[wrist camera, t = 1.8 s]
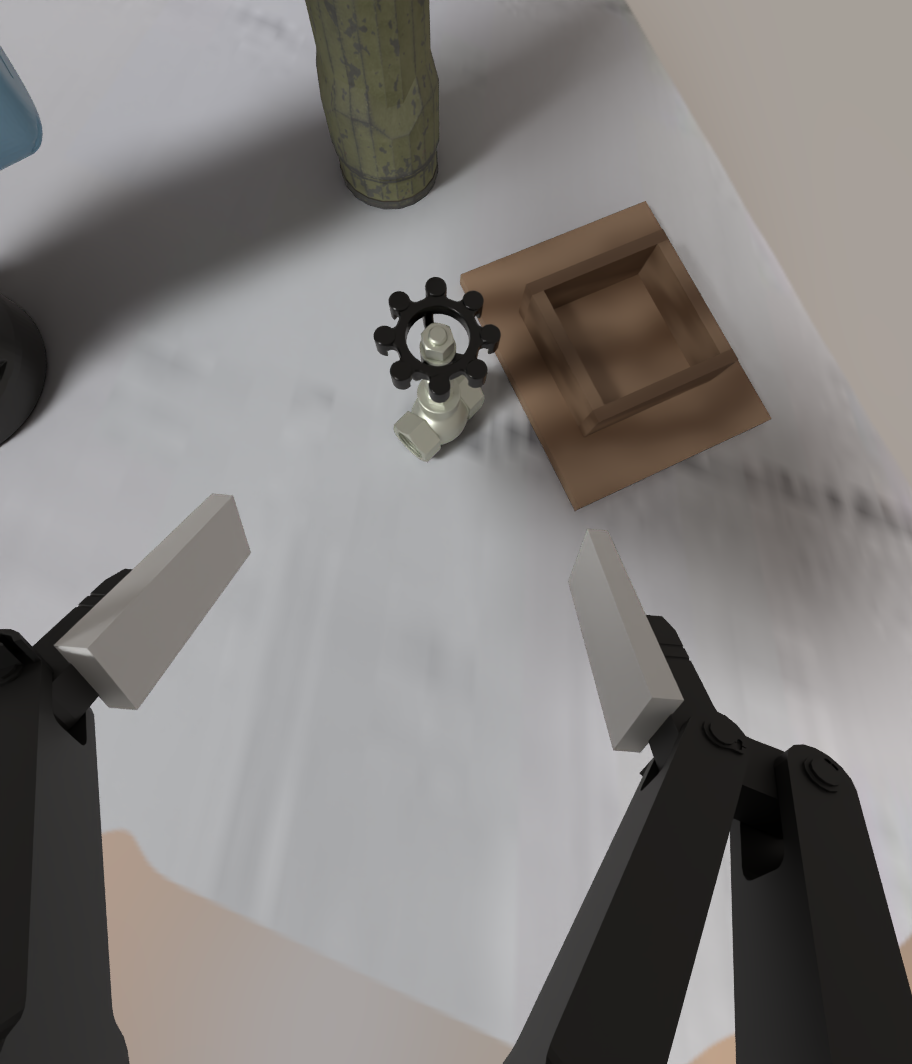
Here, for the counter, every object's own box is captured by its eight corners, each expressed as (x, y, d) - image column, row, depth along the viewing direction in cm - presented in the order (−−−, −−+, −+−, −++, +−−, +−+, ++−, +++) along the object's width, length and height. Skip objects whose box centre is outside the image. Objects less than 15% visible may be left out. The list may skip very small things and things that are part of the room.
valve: (382, 427, 32) (346, 335, 20) (437, 373, 32) (434, 252, 20) (441, 481, 31) (440, 420, 19) (495, 425, 32) (527, 332, 20)
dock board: (460, 283, 33) (462, 243, 29) (639, 211, 35) (665, 164, 31) (575, 510, 31) (594, 500, 27) (761, 423, 33) (805, 402, 29)
